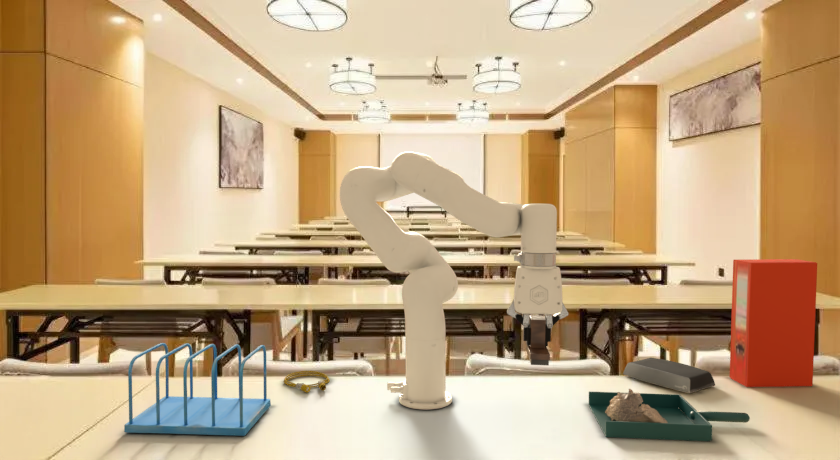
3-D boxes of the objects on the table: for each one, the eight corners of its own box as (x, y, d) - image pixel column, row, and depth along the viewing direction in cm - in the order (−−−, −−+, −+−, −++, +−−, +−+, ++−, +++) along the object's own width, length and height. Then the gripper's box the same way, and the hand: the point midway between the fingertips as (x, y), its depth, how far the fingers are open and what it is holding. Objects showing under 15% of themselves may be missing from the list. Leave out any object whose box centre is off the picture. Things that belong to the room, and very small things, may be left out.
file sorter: (123, 434, 118) (121, 359, 118) (164, 404, 136) (163, 339, 135) (245, 436, 117) (244, 361, 117) (271, 406, 135) (270, 340, 134)
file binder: (813, 386, 150) (817, 262, 148) (747, 387, 149) (751, 262, 147) (791, 377, 158) (795, 259, 156) (729, 378, 157) (732, 259, 155)
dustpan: (605, 437, 117) (605, 421, 117) (588, 405, 136) (588, 391, 136) (771, 443, 114) (771, 427, 114) (730, 410, 133) (730, 396, 133)
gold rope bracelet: (275, 393, 144) (275, 385, 144) (289, 374, 160) (289, 367, 160) (325, 393, 144) (325, 385, 144) (334, 374, 160) (334, 367, 160)
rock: (656, 440, 115) (657, 404, 115) (599, 417, 127) (599, 385, 127) (675, 434, 118) (676, 399, 118) (617, 412, 130) (618, 381, 130)
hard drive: (687, 395, 142) (687, 379, 142) (620, 376, 158) (621, 361, 158) (717, 386, 149) (717, 370, 149) (650, 368, 166) (650, 354, 165)
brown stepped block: (530, 365, 121) (530, 323, 120) (524, 348, 135) (525, 311, 134) (549, 365, 120) (550, 324, 120) (542, 349, 134) (543, 311, 134)
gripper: (500, 261, 123) (499, 347, 124) (579, 263, 122) (578, 350, 123) (499, 258, 131) (498, 339, 132) (574, 259, 129) (572, 341, 130)
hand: (536, 343), depth 127 cm, fingers closed on brown stepped block, 3 cm apart
